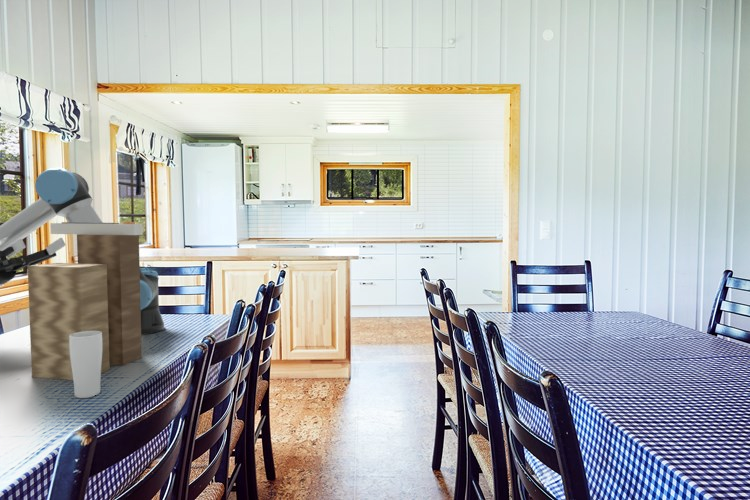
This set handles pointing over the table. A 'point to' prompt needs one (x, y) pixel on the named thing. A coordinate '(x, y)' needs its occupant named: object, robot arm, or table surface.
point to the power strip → (97, 228)
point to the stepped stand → (86, 304)
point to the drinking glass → (86, 362)
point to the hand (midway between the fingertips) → (43, 242)
